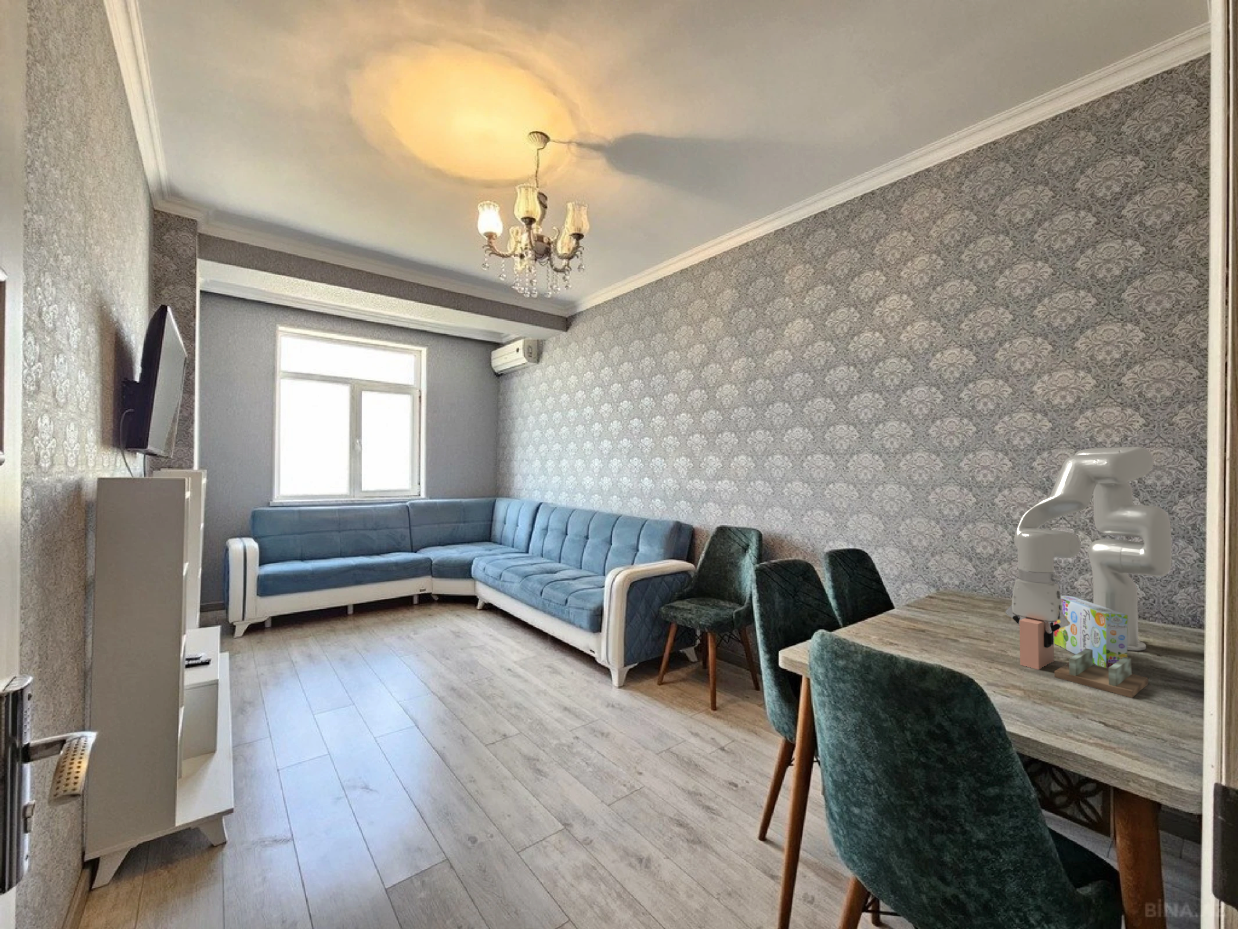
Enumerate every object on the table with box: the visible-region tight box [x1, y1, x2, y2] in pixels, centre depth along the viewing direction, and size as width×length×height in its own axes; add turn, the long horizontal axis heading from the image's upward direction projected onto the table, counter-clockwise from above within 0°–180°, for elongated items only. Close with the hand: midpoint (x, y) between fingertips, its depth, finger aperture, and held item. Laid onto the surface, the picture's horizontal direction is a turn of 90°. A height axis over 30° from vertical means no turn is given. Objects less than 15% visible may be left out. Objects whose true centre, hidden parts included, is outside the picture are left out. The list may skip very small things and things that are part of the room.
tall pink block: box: [1018, 618, 1055, 671], centre depth 136 cm, size 11×4×12 cm, turn 123°
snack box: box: [1054, 595, 1128, 668], centre depth 140 cm, size 21×6×15 cm, turn 168°
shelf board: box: [1053, 648, 1149, 699], centre depth 124 cm, size 14×14×6 cm
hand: (1036, 643), depth 136 cm, fingers closed on tall pink block, 4 cm apart
